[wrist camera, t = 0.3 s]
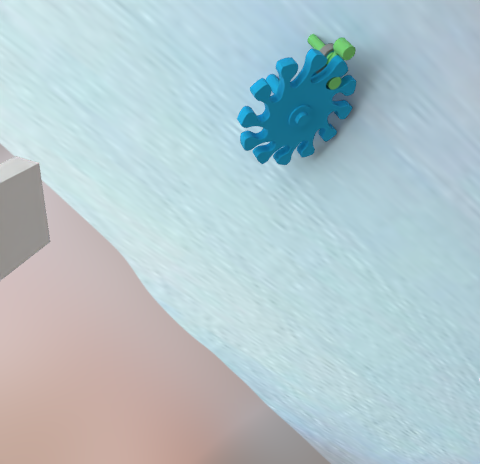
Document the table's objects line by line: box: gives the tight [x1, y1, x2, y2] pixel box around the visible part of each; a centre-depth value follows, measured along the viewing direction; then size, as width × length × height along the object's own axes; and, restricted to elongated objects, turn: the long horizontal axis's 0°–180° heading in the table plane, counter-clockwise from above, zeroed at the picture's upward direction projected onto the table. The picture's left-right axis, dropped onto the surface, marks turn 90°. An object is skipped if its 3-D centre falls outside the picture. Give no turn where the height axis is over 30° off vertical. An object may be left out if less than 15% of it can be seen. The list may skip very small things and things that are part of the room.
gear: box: [237, 34, 356, 165], centre depth 33 cm, size 11×6×10 cm
